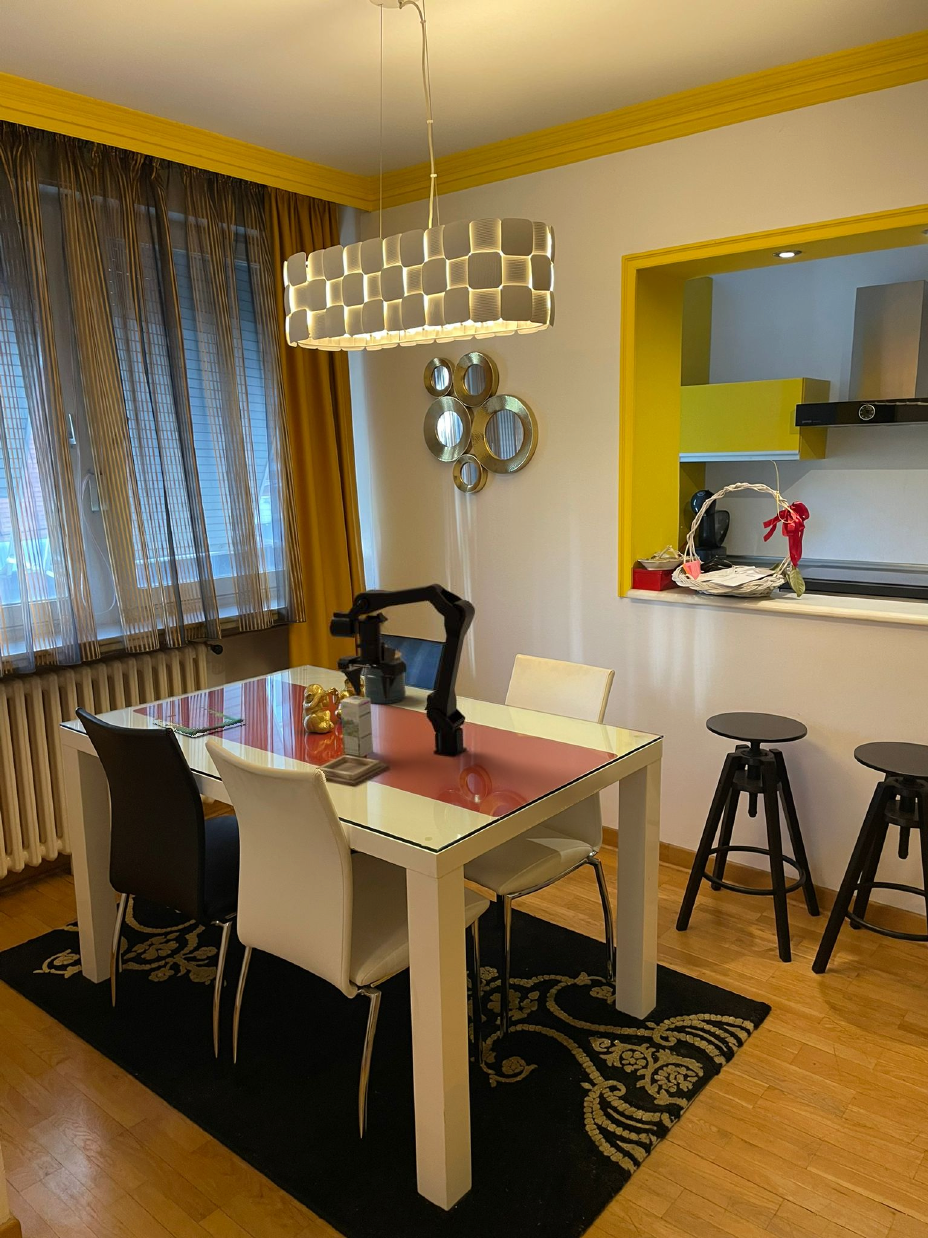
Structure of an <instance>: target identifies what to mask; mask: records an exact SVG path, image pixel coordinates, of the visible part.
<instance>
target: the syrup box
mask: <svg viewBox="0 0 928 1238" xmlns="http://www.w3.org/2000/svg"><path fill="white" fill-rule="evenodd" d="M339 702H340V713H341V716H340V717H341V731H342V746H343V747H342V748H343V755H348V756H354V757H360V758H363V757H365V756H367V755H369V754H370V753H371V754H372V753H373V752H374V743H373V742H374V740H373V725H372V723H373V722H372V705H371V704H372V703H371V702H370V698H366V697H365V696H364V697H363V696H357V695H351V696H348V697H345V698H343V699H341V700H340V701H339Z"/></svg>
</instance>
